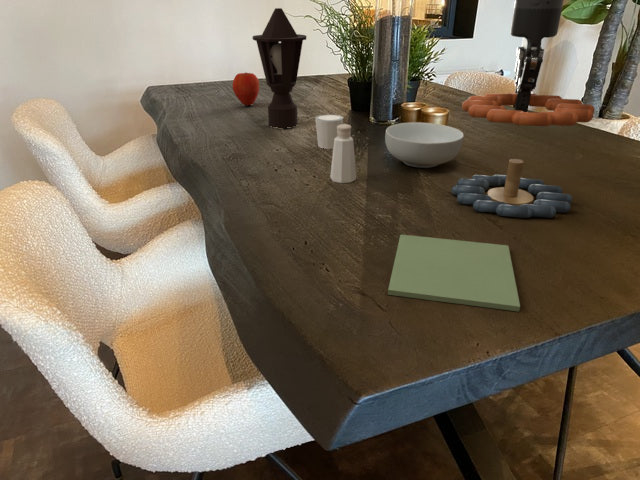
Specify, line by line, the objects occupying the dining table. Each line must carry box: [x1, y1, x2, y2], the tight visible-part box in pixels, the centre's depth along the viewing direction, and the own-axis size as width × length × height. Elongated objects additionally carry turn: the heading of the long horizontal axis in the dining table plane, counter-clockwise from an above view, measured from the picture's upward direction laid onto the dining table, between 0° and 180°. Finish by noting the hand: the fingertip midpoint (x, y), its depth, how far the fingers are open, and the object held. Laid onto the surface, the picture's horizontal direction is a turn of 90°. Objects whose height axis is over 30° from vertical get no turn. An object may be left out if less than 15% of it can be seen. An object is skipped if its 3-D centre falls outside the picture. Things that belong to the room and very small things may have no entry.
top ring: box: [461, 92, 596, 127], centre depth 82 cm, size 21×17×2 cm
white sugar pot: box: [314, 114, 344, 150], centre depth 119 cm, size 7×7×7 cm
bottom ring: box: [450, 174, 573, 219], centre depth 89 cm, size 21×17×2 cm
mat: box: [387, 234, 521, 313], centre depth 68 cm, size 16×16×1 cm
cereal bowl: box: [384, 121, 465, 169], centre depth 107 cm, size 17×17×7 cm
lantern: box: [251, 7, 307, 128], centre depth 131 cm, size 15×15×30 cm
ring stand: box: [486, 158, 534, 206], centre depth 88 cm, size 8×8×8 cm
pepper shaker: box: [329, 123, 357, 184], centre depth 98 cm, size 5×5×11 cm
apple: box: [232, 71, 260, 106], centre depth 158 cm, size 9×8×11 cm
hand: (519, 109), depth 89 cm, fingers closed on top ring, 2 cm apart
